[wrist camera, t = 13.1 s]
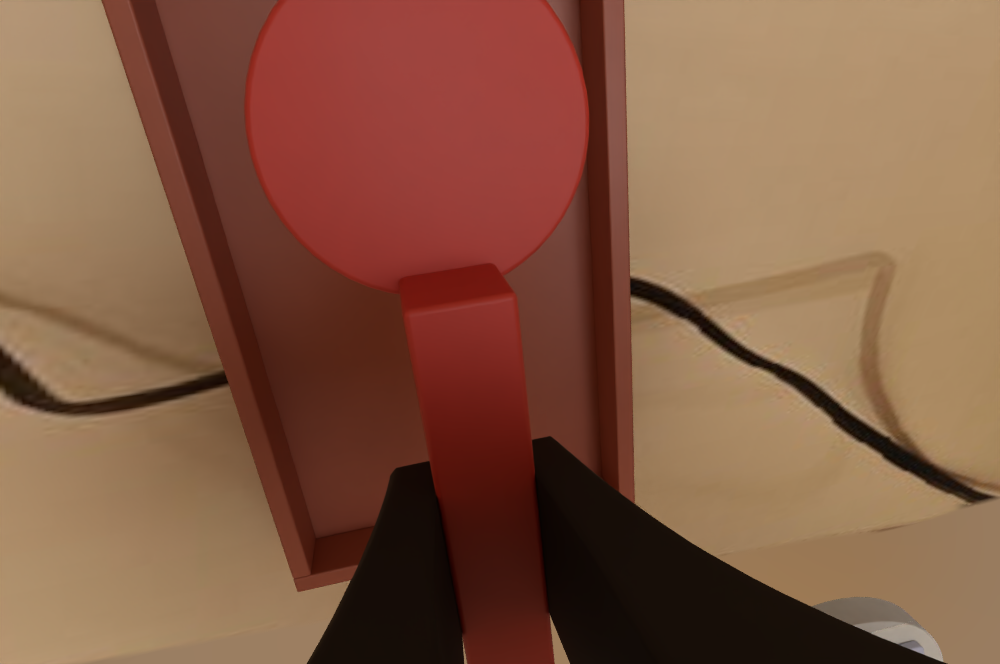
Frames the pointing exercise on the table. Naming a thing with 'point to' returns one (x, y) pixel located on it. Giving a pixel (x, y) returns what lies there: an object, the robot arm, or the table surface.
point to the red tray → (363, 310)
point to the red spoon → (437, 237)
